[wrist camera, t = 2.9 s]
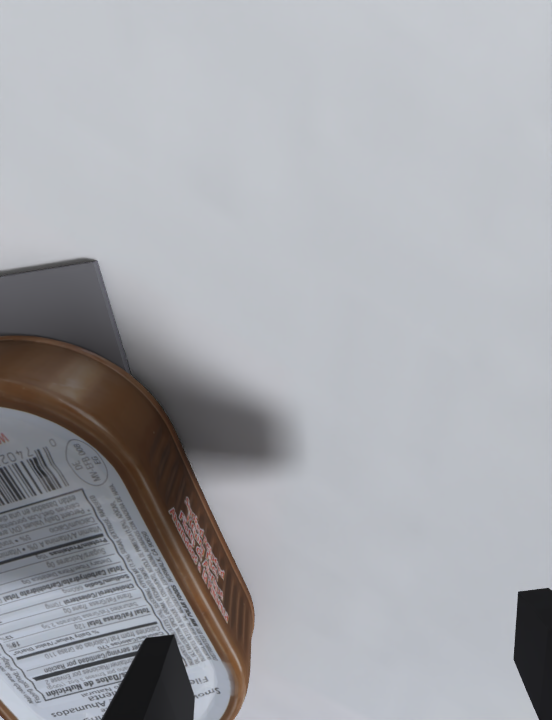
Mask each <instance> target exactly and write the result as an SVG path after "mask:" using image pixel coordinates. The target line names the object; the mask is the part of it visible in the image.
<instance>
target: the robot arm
mask: <svg viewBox="0 0 552 720" xmlns="http://www.w3.org/2000/svg"><path fill="white" fill-rule="evenodd" d="M514 661H515V664H516V666H517V669H518V671H519V673H520V676H521V678H522V681H523V683H524V686H525V688H526V690H527V693H528V695H529V697H530V700H531V702H532V704H533V707H534V709H535V711H536V714H537V716H538V718H539V720H552V590H550V589H549V588H545V589H536V590H528V591H520V592H518V603H517V617H516V632H515V647H514ZM194 704H195V695H194V692H193V689H192V686H191V683H190V680H189V677H188V674H187V671H186V668H185V665H184V662H183V659H182V656H181V653H180V650H179V647H178V644H177V641H176V638H175V635H174V634H172V635H164V636H156V637H148V638H145V640H144V641H143V642H142V644H141V645H140V647H139V649H138V651H137V653H136V655H135V657H134V659H133V661H132V663H131V665H130V667H129V669H128V671H127V673H126V674H125V676H124V678H123V680H122V682H121V684H120V686H119V688H118V689H117V691H116V693H115V695H114V697H113V699H112V701H111V702H110V704H109V706H108V708H107V710H106V712H105V713H104V715H103V717H102V719H101V720H194Z"/></svg>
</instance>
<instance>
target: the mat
mask: <svg viewBox="0 0 552 720" xmlns="http://www.w3.org/2000/svg"><path fill="white" fill-rule="evenodd" d="M13 335H18V336H36V337H43V338H48V339H54V340H58V341H63V342H66V343H69V344H72V345H75V346H79V347H81V348H83V349H86V350H88V351H91V352H93V353H95V354H97V355H99V356H101V357H103V358H105V359H107V360H109V361H111V362H112V363H114V364H116V365H117V366H119V367H120V368H122V369H123V370H124V371H126V372H127V373H129V374H130V375H131V373H130V369H129V366H128V363H127V359H126V356H125V353H124V349H123V346H122V342H121V339H120V336H119V332H118V329H117V326H116V322H115V319H114V316H113V312H112V309H111V305H110V302H109V299H108V295H107V292H106V289H105V285H104V282H103V278H102V275H101V272H100V268H99V265H98V262H97V261H92V262H85V263H79V264H73V265H66V266H60V267H54V268H48V269H41V270H35V271H29V272H22V273H16V274H10V275H4V276H0V336H13Z"/></svg>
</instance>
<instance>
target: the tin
mask: <svg viewBox="0 0 552 720" xmlns="http://www.w3.org/2000/svg"><path fill="white" fill-rule="evenodd" d="M254 616H255V615H254V607H253V602H252V599H251V595H250V593H249V591H248V588H247V586H246V584H245V582H244V580H243V578H242V575H241V573H240V571H239V569H238V567H237V565H236V563H235V561H234V559H233V557H232V554H231V552H230V550H229V548H228V546H227V544H226V542H225V540H224V538H223V535H222V533H221V531H220V529H219V527H218V525H217V522H216V520H215V518H214V516H213V514H212V512H211V510H210V508H209V506H208V503H207V501H206V499H205V497H204V494H203V492H202V490H201V488H200V485H199V483H198V481H197V479H196V477H195V474H194V472H193V470H192V468H191V465H190V463H189V461H188V459H187V456H186V454H185V452H184V450H183V447H182V445H181V443H180V441H179V438H178V436H177V434H176V431H175V429H174V427H173V425H172V424H171V422H170V420H169V418H168V416H167V415H166V413H165V412H164V410H163V409H162V407H161V406H160V405H159V403H158V402H157V401H156V399H155V398H154V397H153V396H152V395H151V394H150V393H149V392H148V390H147V389H146V388H145V387H144V386H143V385H142V384H140V383H139V382H138V381H137V380H136V379H135V378H133V377H132V376H131V375H130V374H129V373H127V372H126V371H124V370H123V369H122V368H120V367H119V366H117V365H116V364H114V363H112V362H111V361H109V360H107V359H105V358H103V357H101V356H99V355H97V354H95V353H93V352H91V351H88V350H86V349H83V348H81V347H79V346H75V345H72V344H69V343H66V342H63V341H58V340H54V339H48V338H43V337H36V336H18V335H13V336H0V716H1V717H2V718H3V719H4V720H101V719H102V717H103V715H104V713H105V712H106V710H107V708H108V706H109V704H110V702H111V701H112V699H113V697H114V695H115V693H116V691H117V689H118V688H119V686H120V684H121V682H122V680H123V678H124V676H125V674H126V673H127V671H128V669H129V667H130V665H131V663H132V661H133V659H134V657H135V655H136V653H137V651H138V649H139V647H140V645H141V644H142V642H143V641H144V640H145V638H148V637H156V636H164V635H172V634H174V635H175V638H176V641H177V644H178V647H179V650H180V653H181V656H182V659H183V662H184V665H185V668H186V671H187V674H188V677H189V680H190V683H191V686H192V689H193V692H194V695H195V704H194V720H234V718H235V717H236V716H237V714H238V712H239V710H240V709H241V707H242V704H243V702H244V699H245V696H246V693H247V688H248V683H249V675H250V659H251V637H252V634H253V629H254Z"/></svg>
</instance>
